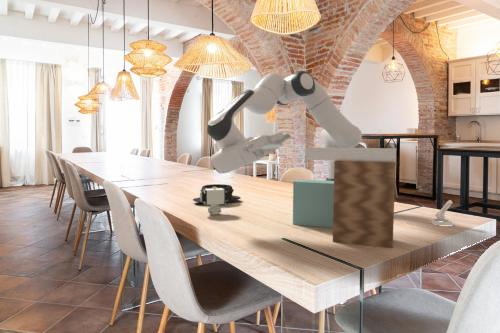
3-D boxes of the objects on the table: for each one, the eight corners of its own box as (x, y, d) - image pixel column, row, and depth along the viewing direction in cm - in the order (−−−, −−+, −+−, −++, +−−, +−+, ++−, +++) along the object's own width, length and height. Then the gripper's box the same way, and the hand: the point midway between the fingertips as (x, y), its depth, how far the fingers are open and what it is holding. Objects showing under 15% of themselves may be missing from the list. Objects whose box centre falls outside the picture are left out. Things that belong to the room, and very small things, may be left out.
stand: (332, 241, 120) (334, 161, 117) (337, 234, 129) (339, 159, 127) (392, 248, 113) (395, 162, 111) (392, 239, 122) (395, 160, 120)
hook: (461, 216, 134) (444, 203, 137) (442, 237, 141) (425, 225, 144) (468, 209, 139) (451, 197, 142) (448, 229, 146) (433, 218, 149)
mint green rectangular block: (292, 224, 143) (293, 181, 141) (297, 219, 150) (298, 179, 149) (337, 228, 137) (338, 183, 135) (340, 223, 144) (341, 181, 143)
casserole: (201, 208, 175) (201, 190, 174) (187, 201, 191) (187, 185, 190) (247, 203, 187) (247, 186, 187) (230, 197, 203) (230, 182, 203)
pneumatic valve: (229, 214, 160) (228, 186, 159) (202, 216, 157) (201, 187, 156) (225, 211, 166) (225, 185, 165) (199, 213, 162) (199, 186, 161)
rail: (305, 159, 124) (305, 147, 123) (308, 158, 128) (308, 147, 127) (395, 162, 114) (396, 149, 113) (395, 161, 117) (396, 148, 117)
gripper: (237, 141, 124) (274, 124, 119) (257, 142, 143) (290, 128, 138) (243, 158, 123) (281, 142, 119) (263, 157, 143) (296, 143, 138)
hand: (286, 134), depth 129 cm, fingers open, 8 cm apart
